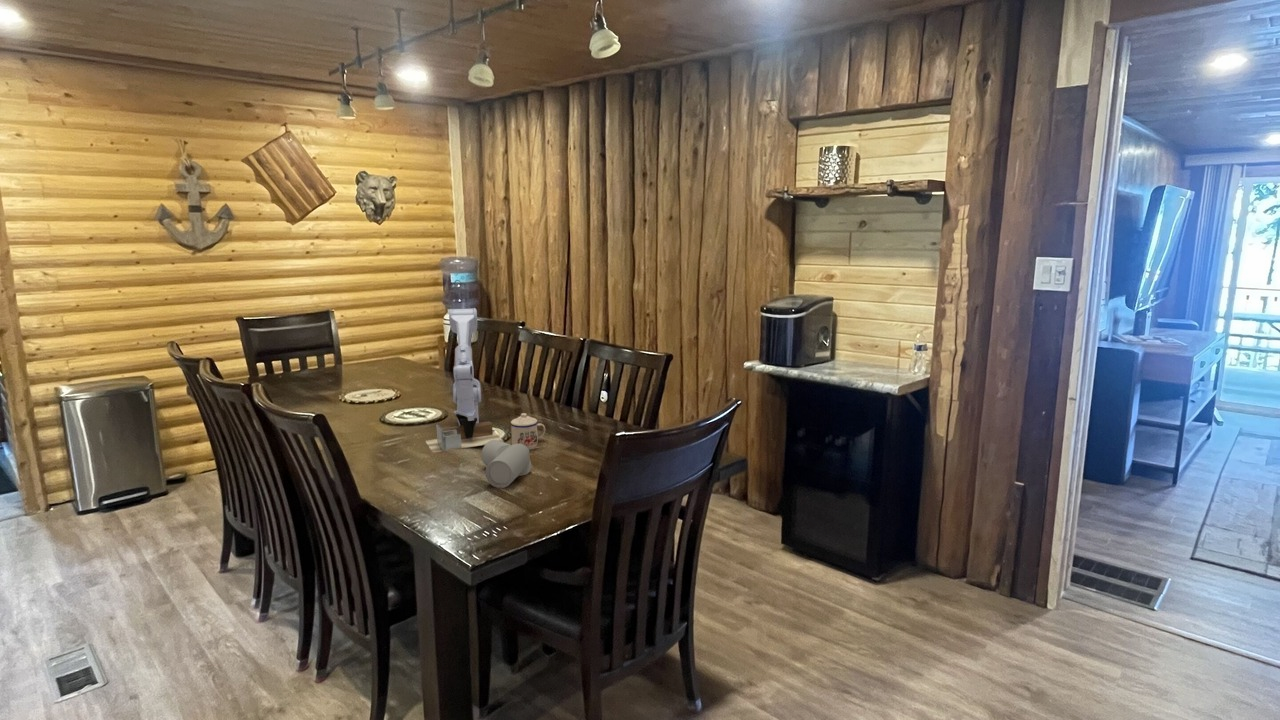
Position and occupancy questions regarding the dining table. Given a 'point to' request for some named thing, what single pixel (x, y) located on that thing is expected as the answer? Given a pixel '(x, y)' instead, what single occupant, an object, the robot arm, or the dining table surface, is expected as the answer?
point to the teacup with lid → (525, 431)
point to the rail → (479, 430)
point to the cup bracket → (448, 439)
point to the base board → (465, 442)
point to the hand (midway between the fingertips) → (467, 435)
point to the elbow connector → (505, 462)
